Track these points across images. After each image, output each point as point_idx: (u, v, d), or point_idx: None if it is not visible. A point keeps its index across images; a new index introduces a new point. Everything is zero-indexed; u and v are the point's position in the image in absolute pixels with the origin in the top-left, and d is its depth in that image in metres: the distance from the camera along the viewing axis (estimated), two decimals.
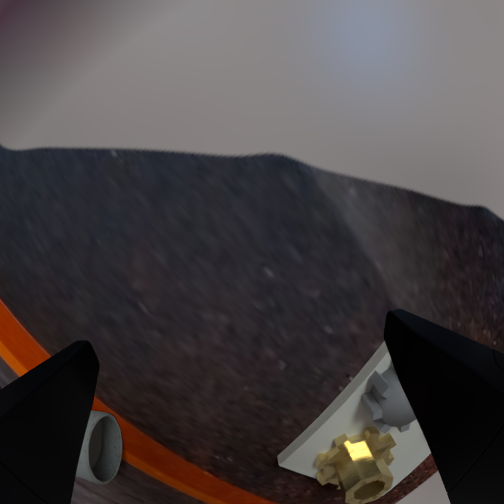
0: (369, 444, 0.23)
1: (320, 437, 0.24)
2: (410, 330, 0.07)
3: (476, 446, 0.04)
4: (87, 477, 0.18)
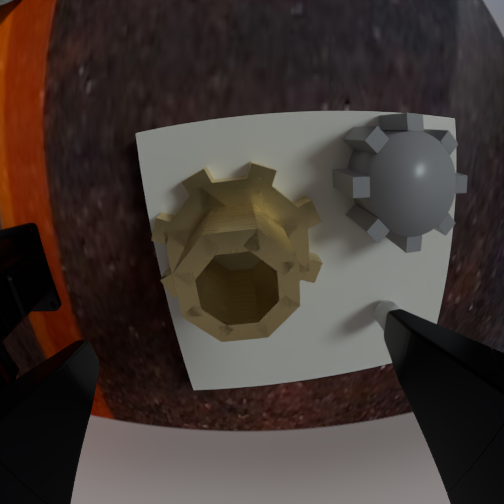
0: (291, 224, 0.15)
1: (239, 134, 0.14)
2: (410, 330, 0.07)
3: (476, 447, 0.04)
4: None
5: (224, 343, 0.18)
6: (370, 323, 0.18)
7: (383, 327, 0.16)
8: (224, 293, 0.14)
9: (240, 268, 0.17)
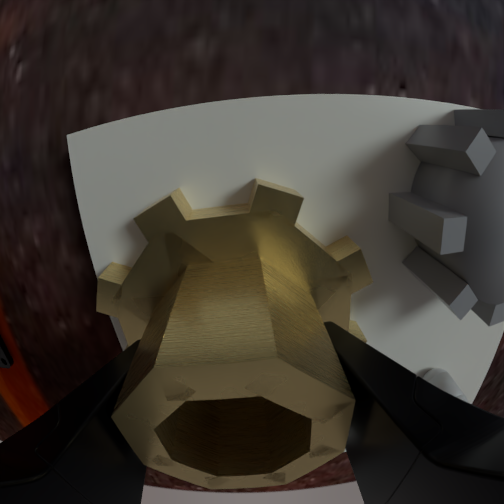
0: (324, 288, 0.09)
1: (235, 131, 0.08)
2: None
3: (392, 483, 0.04)
4: None
5: None
6: None
7: None
8: (214, 404, 0.08)
9: None
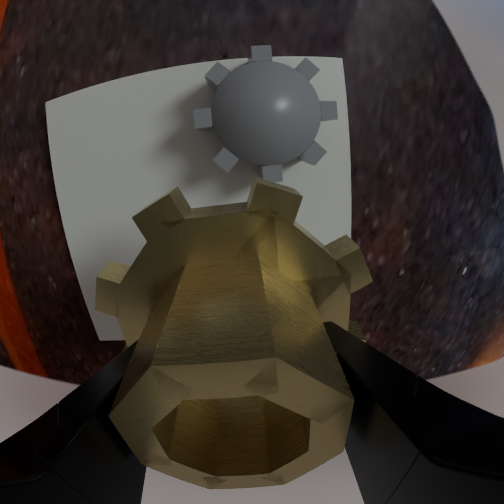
0: (323, 287, 0.08)
1: (118, 93, 0.14)
2: None
3: (391, 483, 0.04)
4: None
5: None
6: None
7: None
8: (213, 404, 0.08)
9: (122, 212, 0.17)
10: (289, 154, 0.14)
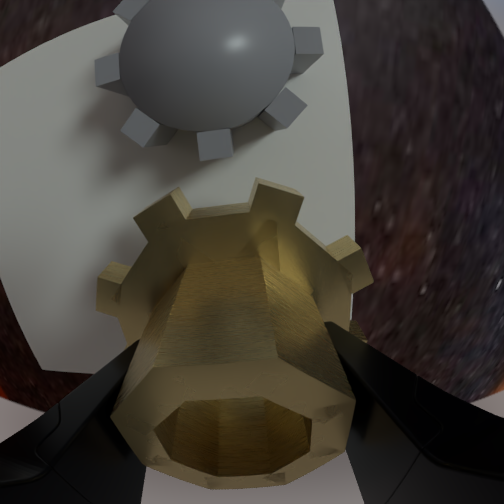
0: (324, 288, 0.08)
1: (35, 64, 0.09)
2: None
3: (391, 483, 0.04)
4: None
5: (48, 312, 0.13)
6: None
7: None
8: (214, 404, 0.08)
9: (40, 215, 0.11)
10: (242, 111, 0.08)
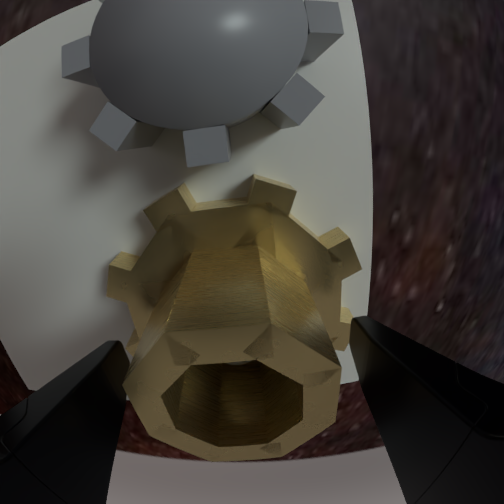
0: (316, 274, 0.09)
1: (9, 59, 0.07)
2: (370, 339, 0.07)
3: (435, 467, 0.04)
4: None
5: (30, 333, 0.11)
6: None
7: None
8: (215, 382, 0.09)
9: (15, 228, 0.09)
10: (241, 102, 0.06)
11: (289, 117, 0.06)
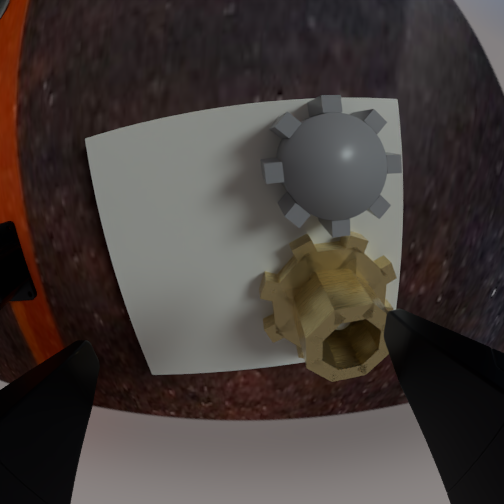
0: (374, 281, 0.17)
1: (170, 133, 0.15)
2: (410, 330, 0.07)
3: (476, 446, 0.04)
4: None
5: (173, 329, 0.19)
6: None
7: None
8: (326, 341, 0.17)
9: (179, 256, 0.18)
10: (357, 209, 0.14)
11: (375, 215, 0.14)
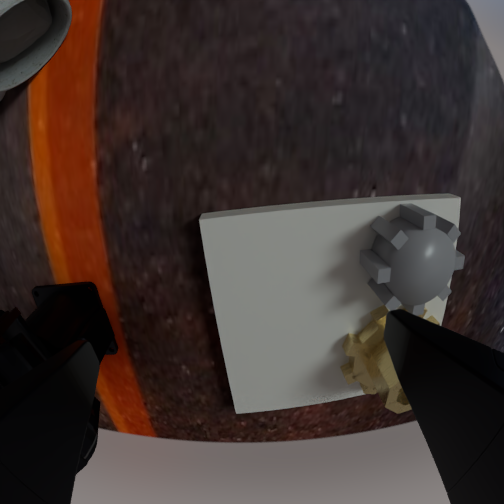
0: None
1: (288, 225, 0.18)
2: (410, 330, 0.07)
3: (476, 447, 0.04)
4: None
5: (266, 378, 0.22)
6: None
7: None
8: None
9: (283, 325, 0.21)
10: (431, 296, 0.17)
11: (441, 299, 0.17)
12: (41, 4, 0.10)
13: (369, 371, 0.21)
